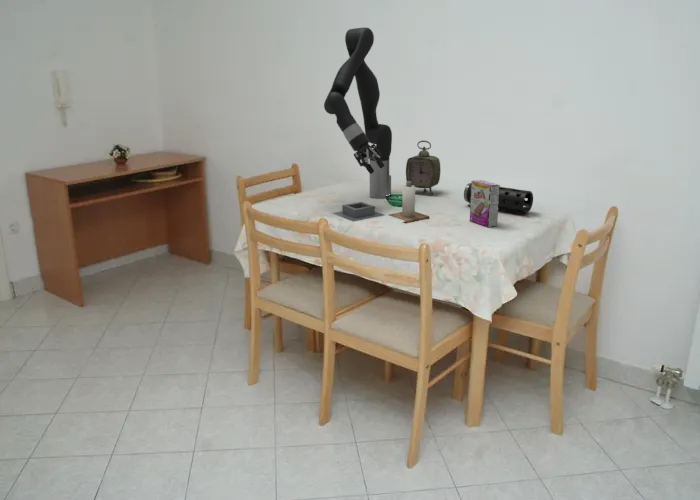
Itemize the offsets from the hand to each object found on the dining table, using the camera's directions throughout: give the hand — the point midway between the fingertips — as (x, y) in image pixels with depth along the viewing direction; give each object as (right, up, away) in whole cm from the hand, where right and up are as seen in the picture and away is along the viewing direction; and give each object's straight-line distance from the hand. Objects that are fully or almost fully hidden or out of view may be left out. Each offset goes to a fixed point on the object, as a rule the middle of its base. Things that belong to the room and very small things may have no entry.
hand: (377, 170), depth 242 cm
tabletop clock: (+24, -6, +39) cm, 46 cm away
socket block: (-8, -19, +2) cm, 21 cm away
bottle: (+12, -19, -2) cm, 23 cm away
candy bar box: (+41, -23, -11) cm, 48 cm away
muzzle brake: (+51, -16, +8) cm, 54 cm away
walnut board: (+12, -20, -2) cm, 23 cm away
